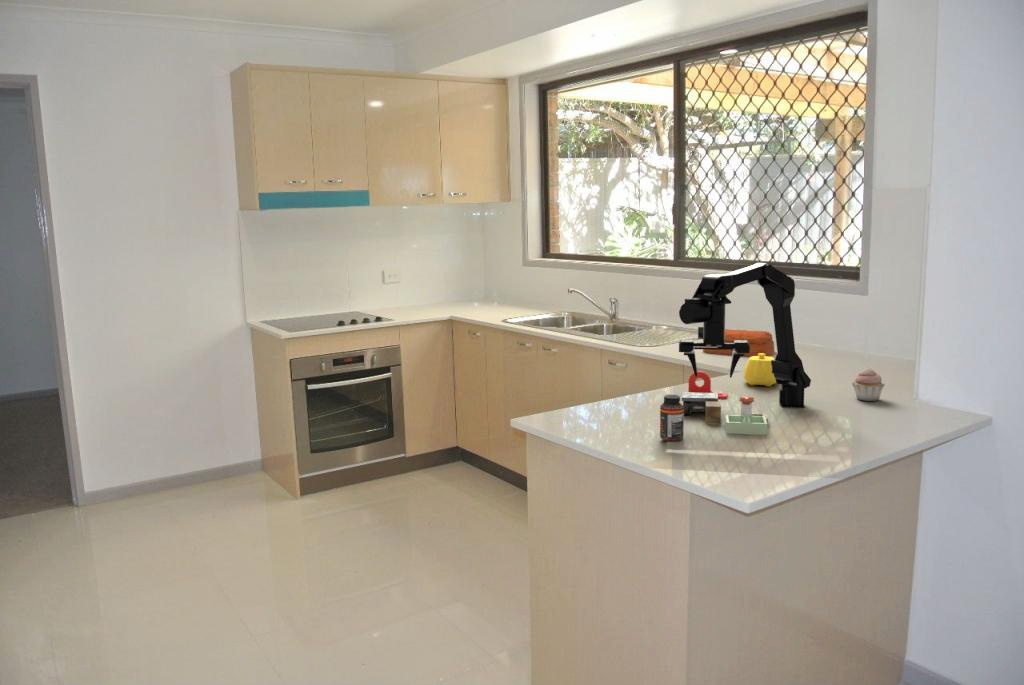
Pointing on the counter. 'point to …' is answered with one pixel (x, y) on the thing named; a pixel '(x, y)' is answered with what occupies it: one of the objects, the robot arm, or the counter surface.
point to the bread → (756, 339)
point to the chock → (713, 412)
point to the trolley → (697, 401)
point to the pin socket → (760, 415)
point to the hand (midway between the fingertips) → (713, 377)
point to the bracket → (705, 387)
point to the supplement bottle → (671, 419)
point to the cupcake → (868, 385)
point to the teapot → (759, 371)
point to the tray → (746, 425)
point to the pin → (746, 408)
